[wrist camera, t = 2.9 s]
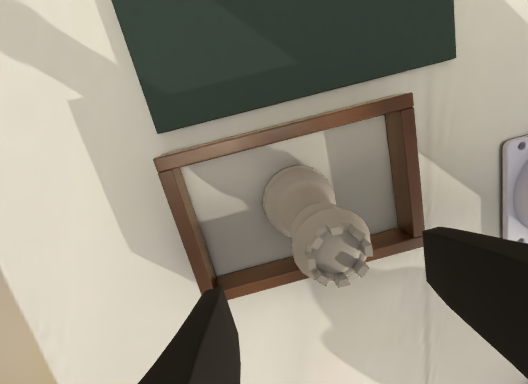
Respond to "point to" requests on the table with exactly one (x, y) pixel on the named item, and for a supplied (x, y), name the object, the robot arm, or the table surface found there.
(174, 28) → the desk mat
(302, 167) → the rook chess piece
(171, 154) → the desk tray
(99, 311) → the table surface
